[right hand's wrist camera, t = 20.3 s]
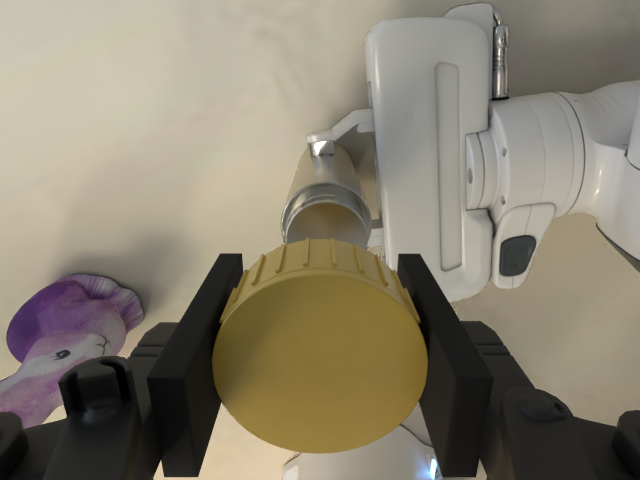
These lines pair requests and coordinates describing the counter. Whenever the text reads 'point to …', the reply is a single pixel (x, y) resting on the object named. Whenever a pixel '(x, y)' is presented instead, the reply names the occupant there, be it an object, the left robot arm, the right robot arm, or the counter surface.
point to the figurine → (63, 339)
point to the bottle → (326, 201)
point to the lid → (320, 348)
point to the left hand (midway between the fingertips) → (313, 187)
